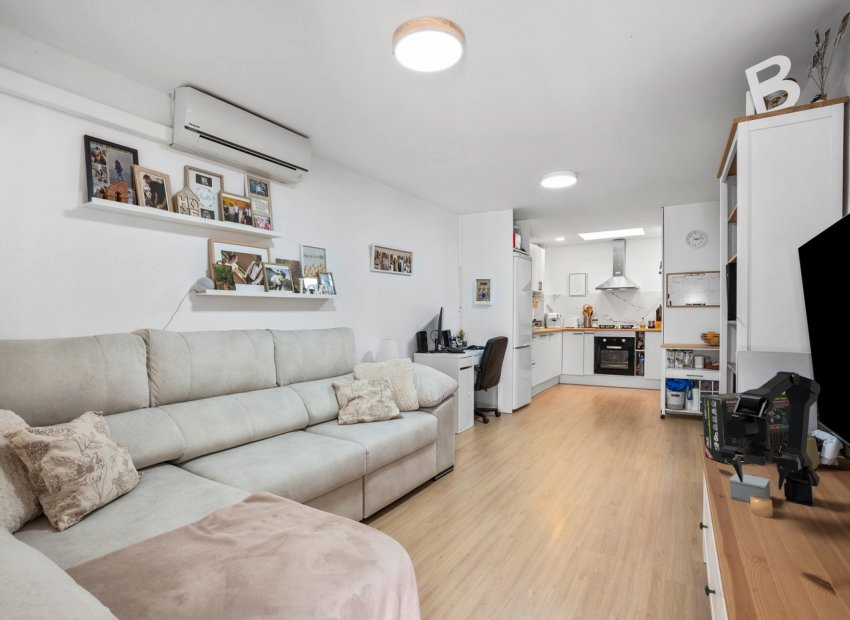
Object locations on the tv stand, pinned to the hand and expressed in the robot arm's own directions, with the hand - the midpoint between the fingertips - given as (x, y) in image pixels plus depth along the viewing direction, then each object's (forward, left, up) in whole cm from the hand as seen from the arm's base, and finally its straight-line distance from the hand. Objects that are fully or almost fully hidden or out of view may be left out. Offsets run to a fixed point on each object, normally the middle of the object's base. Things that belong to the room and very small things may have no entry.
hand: (760, 485), depth 128 cm
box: (+5, -11, -8) cm, 14 cm away
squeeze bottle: (-5, -59, -9) cm, 60 cm away
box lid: (+5, -11, -3) cm, 12 cm away
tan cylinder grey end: (0, 0, -8) cm, 8 cm away
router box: (+13, -61, -9) cm, 63 cm away
